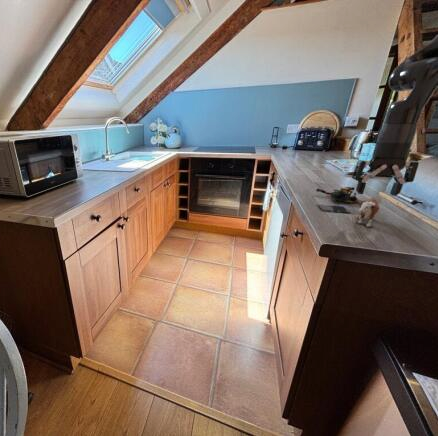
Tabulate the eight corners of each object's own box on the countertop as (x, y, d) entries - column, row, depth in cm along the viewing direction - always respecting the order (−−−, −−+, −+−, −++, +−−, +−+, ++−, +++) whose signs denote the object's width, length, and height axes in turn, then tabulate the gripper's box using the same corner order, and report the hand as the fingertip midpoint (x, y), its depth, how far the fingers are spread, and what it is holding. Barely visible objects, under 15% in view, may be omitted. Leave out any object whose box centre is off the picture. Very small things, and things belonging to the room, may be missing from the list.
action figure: (348, 194, 108) (377, 205, 94) (314, 194, 108) (338, 205, 94) (352, 182, 105) (382, 191, 91) (317, 182, 106) (342, 191, 92)
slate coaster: (342, 207, 92) (342, 206, 92) (349, 213, 87) (349, 212, 87) (318, 205, 95) (318, 204, 95) (323, 210, 89) (323, 209, 89)
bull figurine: (350, 226, 77) (358, 202, 73) (359, 215, 85) (367, 193, 82) (368, 231, 74) (377, 205, 70) (376, 219, 82) (385, 195, 78)
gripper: (417, 139, 71) (397, 192, 77) (358, 139, 76) (344, 190, 82) (435, 141, 65) (412, 199, 71) (370, 141, 69) (354, 196, 75)
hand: (376, 194), depth 76 cm, fingers open, 8 cm apart
